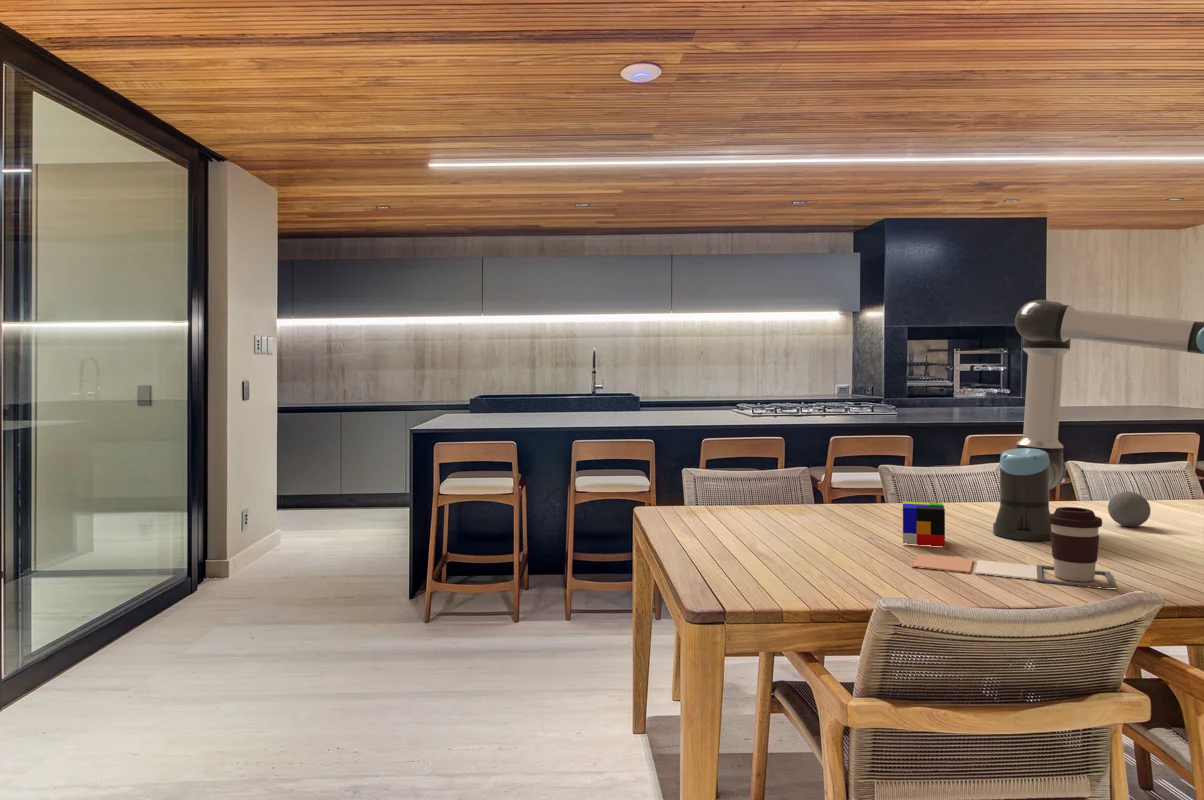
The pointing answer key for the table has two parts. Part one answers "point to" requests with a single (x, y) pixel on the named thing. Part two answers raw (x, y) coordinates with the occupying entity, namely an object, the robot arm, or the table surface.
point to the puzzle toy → (924, 523)
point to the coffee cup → (1074, 543)
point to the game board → (997, 569)
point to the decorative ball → (1129, 509)
